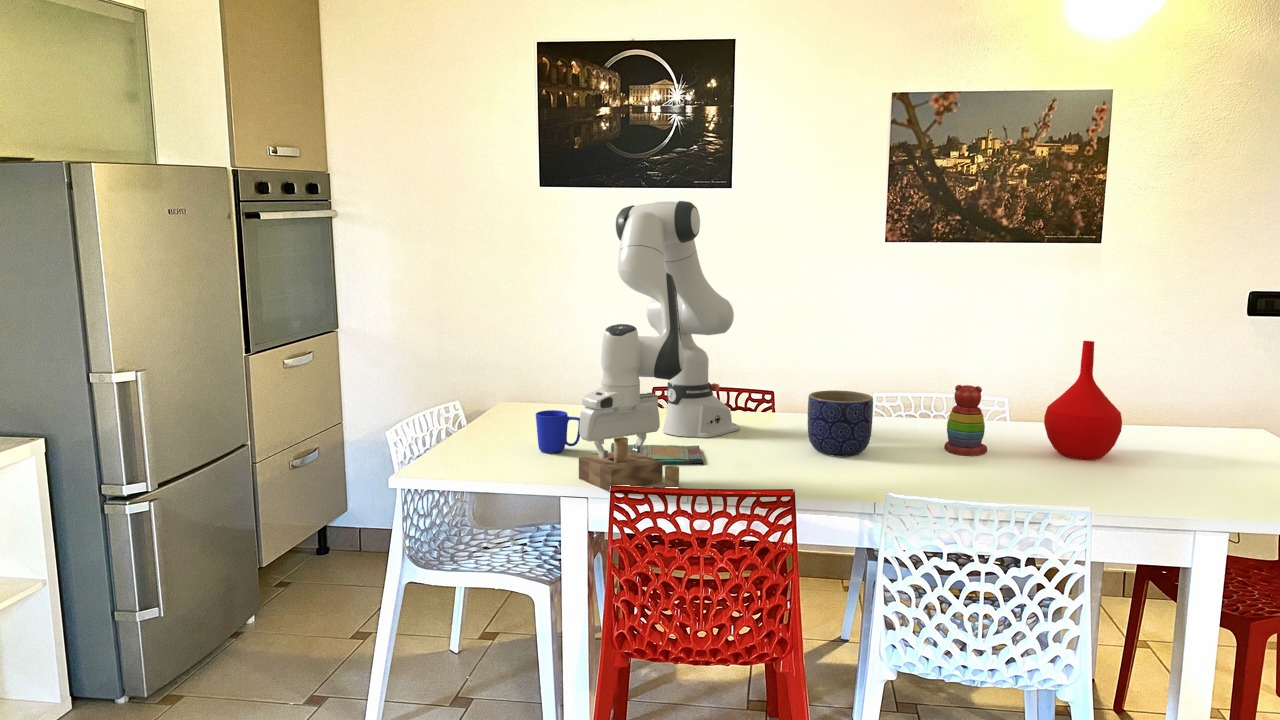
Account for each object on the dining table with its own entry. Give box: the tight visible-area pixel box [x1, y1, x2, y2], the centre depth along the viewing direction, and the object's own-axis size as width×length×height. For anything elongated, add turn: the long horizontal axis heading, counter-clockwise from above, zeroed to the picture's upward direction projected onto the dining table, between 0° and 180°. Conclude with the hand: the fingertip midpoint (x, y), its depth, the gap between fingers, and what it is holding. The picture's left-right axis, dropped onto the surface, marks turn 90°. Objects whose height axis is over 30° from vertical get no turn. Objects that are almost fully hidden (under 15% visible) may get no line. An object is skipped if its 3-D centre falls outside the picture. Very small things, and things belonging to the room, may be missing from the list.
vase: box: [1043, 340, 1123, 461], centre depth 250 cm, size 18×18×30 cm
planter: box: [807, 389, 874, 457], centre depth 253 cm, size 16×16×15 cm
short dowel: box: [664, 465, 680, 488], centre depth 219 cm, size 3×3×5 cm
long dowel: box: [613, 436, 629, 463], centre depth 225 cm, size 3×3×10 cm
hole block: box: [578, 450, 664, 492], centre depth 225 cm, size 14×14×5 cm
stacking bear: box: [943, 384, 988, 457], centre depth 254 cm, size 11×10×18 cm
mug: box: [535, 409, 581, 454], centre depth 252 cm, size 8×12×10 cm
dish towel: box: [610, 442, 705, 466], centre depth 248 cm, size 17×23×2 cm
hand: (620, 455), depth 224 cm, fingers open, 8 cm apart
